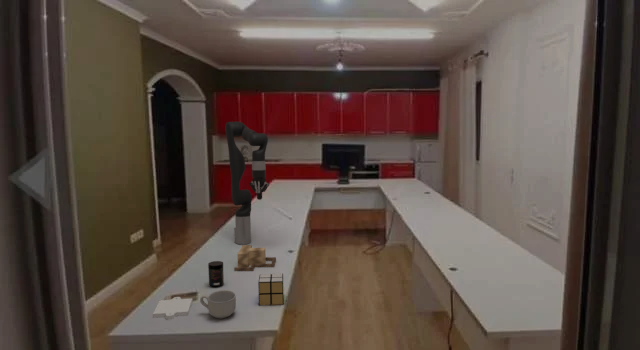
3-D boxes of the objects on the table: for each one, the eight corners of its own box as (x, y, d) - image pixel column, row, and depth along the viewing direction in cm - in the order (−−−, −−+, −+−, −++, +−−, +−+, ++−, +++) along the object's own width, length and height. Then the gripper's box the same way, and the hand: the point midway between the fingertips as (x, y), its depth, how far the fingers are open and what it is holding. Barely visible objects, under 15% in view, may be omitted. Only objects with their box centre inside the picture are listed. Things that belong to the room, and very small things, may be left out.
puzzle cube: (260, 296, 186) (259, 273, 185) (283, 295, 187) (283, 273, 186) (258, 305, 176) (258, 282, 175) (283, 305, 177) (283, 281, 176)
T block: (237, 269, 221) (237, 253, 220) (242, 259, 237) (242, 245, 236) (263, 268, 222) (263, 253, 221) (266, 259, 237) (266, 244, 237)
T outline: (234, 271, 218) (234, 268, 218) (241, 257, 241) (241, 254, 241) (273, 270, 219) (273, 267, 218) (276, 256, 241) (276, 254, 241)
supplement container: (222, 281, 203) (221, 260, 202) (225, 286, 197) (224, 264, 196) (207, 284, 201) (207, 262, 200) (210, 289, 195) (209, 266, 193)
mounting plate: (161, 302, 181) (161, 297, 181) (193, 300, 183) (193, 295, 183) (151, 321, 163) (151, 316, 163) (187, 319, 165) (187, 314, 165)
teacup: (241, 311, 171) (241, 291, 170) (226, 323, 161) (226, 302, 160) (211, 306, 176) (210, 287, 175) (195, 317, 166) (194, 297, 165)
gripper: (272, 168, 244) (272, 199, 246) (253, 167, 250) (254, 197, 252) (264, 170, 238) (265, 201, 240) (245, 169, 244) (246, 199, 246)
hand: (259, 199), depth 246 cm, fingers closed
